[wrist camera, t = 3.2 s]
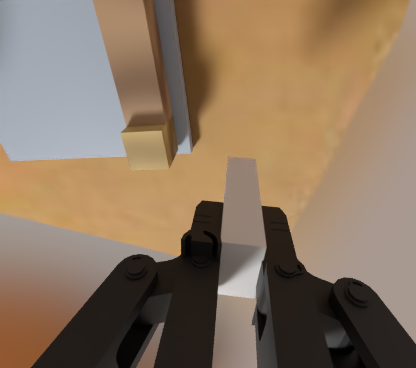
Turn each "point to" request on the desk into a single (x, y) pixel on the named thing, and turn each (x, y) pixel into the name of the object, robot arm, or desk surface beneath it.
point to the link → (139, 81)
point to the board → (71, 81)
